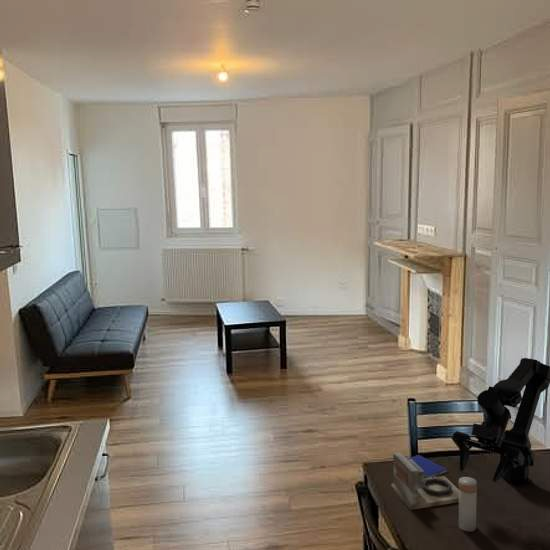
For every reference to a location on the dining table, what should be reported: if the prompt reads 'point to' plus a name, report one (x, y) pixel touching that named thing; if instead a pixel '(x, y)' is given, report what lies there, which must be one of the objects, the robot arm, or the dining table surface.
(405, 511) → the dining table surface
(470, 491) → the cartridge
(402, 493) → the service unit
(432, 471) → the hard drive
